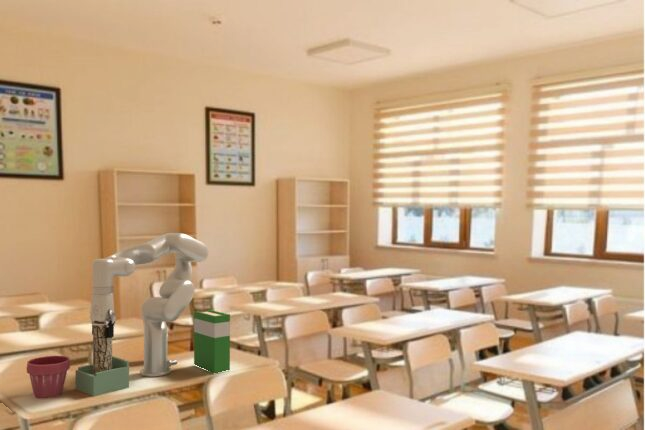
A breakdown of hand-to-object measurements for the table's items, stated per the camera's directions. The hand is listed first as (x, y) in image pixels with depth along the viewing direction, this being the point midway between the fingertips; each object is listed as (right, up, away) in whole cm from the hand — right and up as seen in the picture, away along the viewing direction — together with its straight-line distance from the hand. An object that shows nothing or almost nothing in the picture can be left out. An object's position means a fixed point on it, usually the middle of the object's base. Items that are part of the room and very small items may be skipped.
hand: (102, 335), depth 205 cm
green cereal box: (+36, -21, +28) cm, 50 cm away
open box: (0, -20, 0) cm, 20 cm away
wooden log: (0, -20, 0) cm, 20 cm away
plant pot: (-16, -20, -9) cm, 27 cm away
